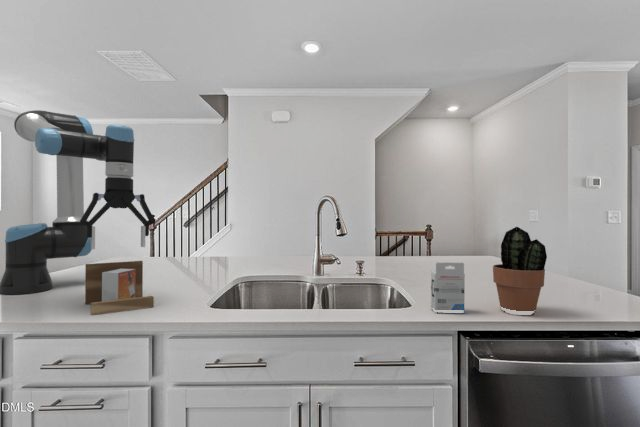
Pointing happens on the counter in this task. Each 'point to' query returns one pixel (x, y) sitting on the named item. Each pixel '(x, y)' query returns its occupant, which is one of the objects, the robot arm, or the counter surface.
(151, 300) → the board
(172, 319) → the counter surface
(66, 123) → the robot arm
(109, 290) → the small box
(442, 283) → the ink box
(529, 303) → the potted plant
